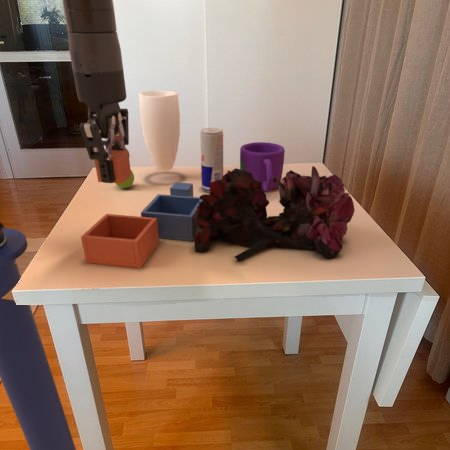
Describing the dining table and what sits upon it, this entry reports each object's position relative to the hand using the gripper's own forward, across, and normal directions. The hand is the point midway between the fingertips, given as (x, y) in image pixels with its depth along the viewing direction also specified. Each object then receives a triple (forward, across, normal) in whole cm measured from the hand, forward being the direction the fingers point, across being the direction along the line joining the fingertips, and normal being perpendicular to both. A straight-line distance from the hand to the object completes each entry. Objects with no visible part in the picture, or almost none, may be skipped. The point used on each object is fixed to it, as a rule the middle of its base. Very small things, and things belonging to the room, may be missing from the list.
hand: (114, 177), depth 74 cm
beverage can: (+15, -36, +10) cm, 40 cm away
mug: (+15, -39, +22) cm, 47 cm away
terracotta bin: (+14, +1, 0) cm, 14 cm away
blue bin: (+14, -12, +7) cm, 20 cm away
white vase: (+15, -43, -6) cm, 45 cm away
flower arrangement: (+15, -11, +28) cm, 33 cm away
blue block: (+14, -26, +4) cm, 30 cm away
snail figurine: (+14, -33, -14) cm, 39 cm away
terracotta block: (0, 0, 0) cm, 0 cm away
